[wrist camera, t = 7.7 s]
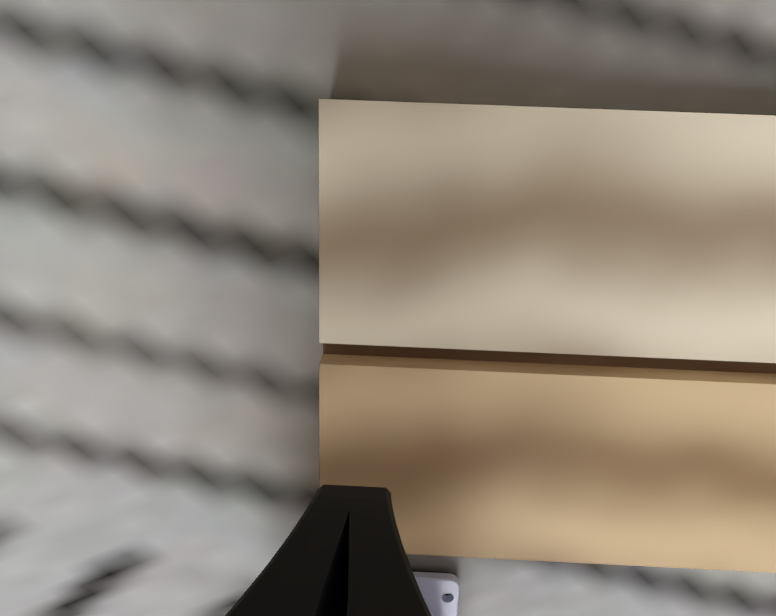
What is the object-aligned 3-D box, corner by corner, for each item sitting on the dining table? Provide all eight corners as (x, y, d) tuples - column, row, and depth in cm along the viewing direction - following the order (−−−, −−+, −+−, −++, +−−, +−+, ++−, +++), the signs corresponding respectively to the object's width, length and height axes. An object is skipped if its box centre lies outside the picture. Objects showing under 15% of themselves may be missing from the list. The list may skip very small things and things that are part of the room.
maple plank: (952, 352, 19) (1012, 373, 17) (327, 325, 20) (319, 342, 18) (1035, 131, 17) (1114, 127, 15) (327, 105, 18) (319, 98, 16)
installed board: (881, 543, 22) (928, 580, 20) (326, 516, 22) (319, 549, 20) (952, 354, 19) (1012, 376, 18) (327, 327, 20) (319, 345, 18)
